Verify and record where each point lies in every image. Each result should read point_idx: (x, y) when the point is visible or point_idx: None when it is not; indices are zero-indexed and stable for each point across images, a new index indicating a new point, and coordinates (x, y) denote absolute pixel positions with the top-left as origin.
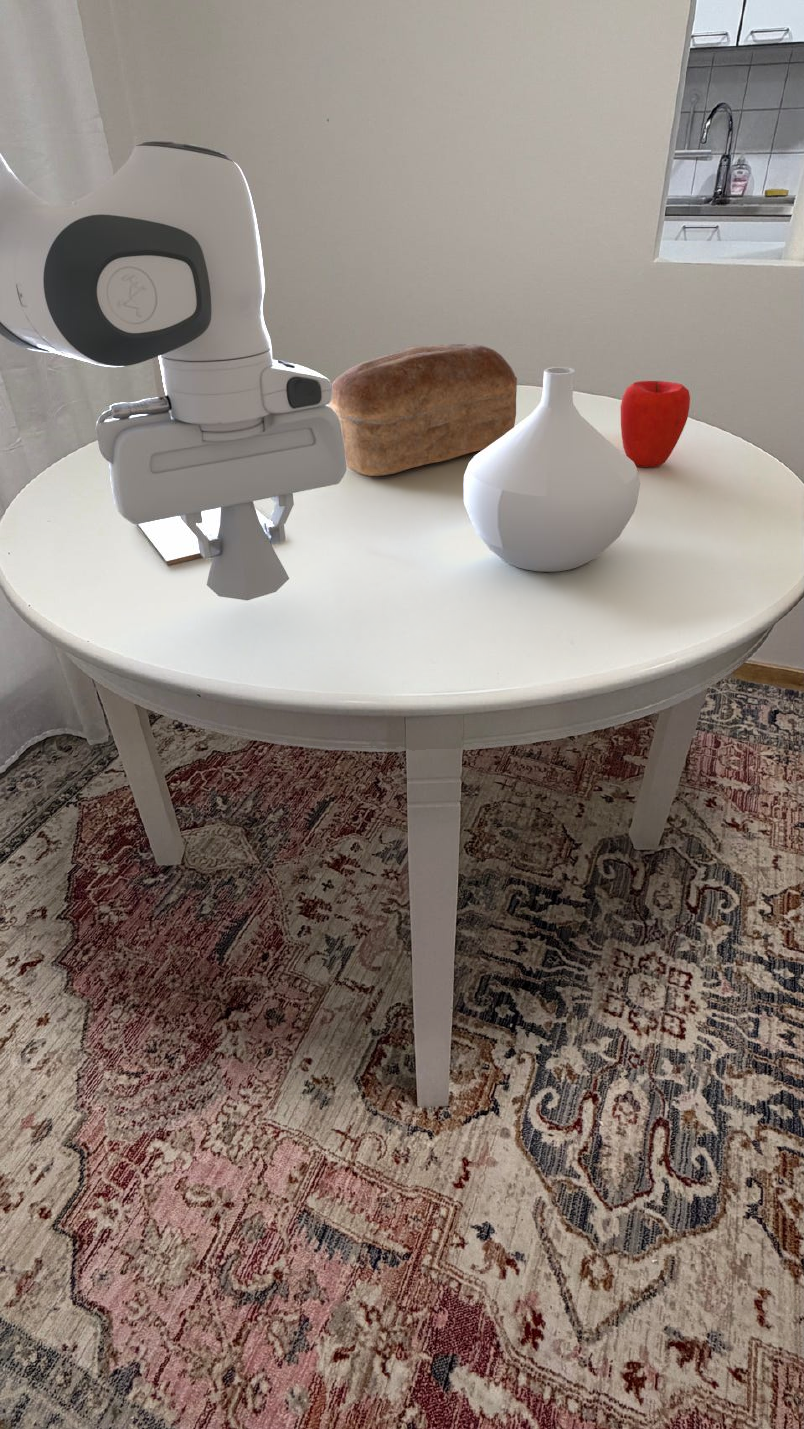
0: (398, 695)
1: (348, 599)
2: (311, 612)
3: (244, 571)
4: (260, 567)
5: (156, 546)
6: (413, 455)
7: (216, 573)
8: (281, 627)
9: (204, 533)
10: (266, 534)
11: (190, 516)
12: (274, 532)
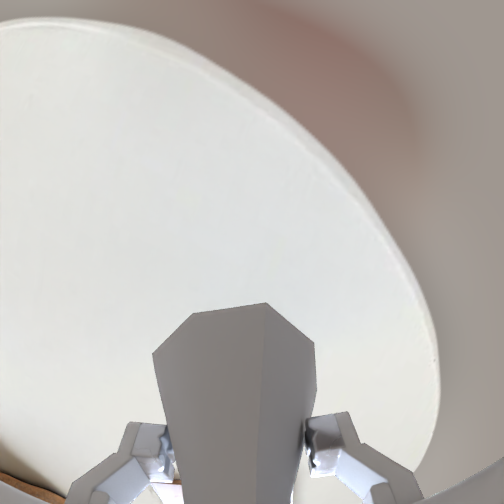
0: (104, 29)
1: (81, 328)
2: (139, 321)
3: (261, 359)
4: (214, 364)
5: (291, 497)
6: (24, 491)
7: (310, 391)
8: (196, 300)
9: (330, 474)
10: (170, 451)
11: (408, 497)
12: (148, 443)
